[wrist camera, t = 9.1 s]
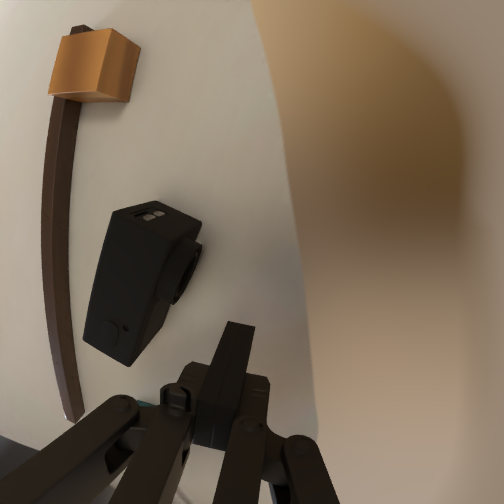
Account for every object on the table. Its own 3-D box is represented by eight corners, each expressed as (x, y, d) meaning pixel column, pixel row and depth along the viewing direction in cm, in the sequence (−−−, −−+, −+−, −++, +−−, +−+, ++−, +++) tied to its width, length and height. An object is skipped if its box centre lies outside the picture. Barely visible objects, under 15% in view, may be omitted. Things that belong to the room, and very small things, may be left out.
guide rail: (98, 32, 21) (84, 24, 19) (85, 412, 33) (75, 424, 30) (86, 34, 22) (71, 26, 19) (75, 408, 33) (66, 419, 30)
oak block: (141, 47, 22) (112, 27, 17) (128, 102, 23) (96, 91, 18) (94, 51, 22) (62, 36, 17) (82, 102, 23) (47, 94, 18)
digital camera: (174, 333, 28) (143, 378, 21) (122, 306, 28) (81, 341, 21) (217, 228, 25) (189, 250, 18) (156, 199, 25) (111, 211, 18)
